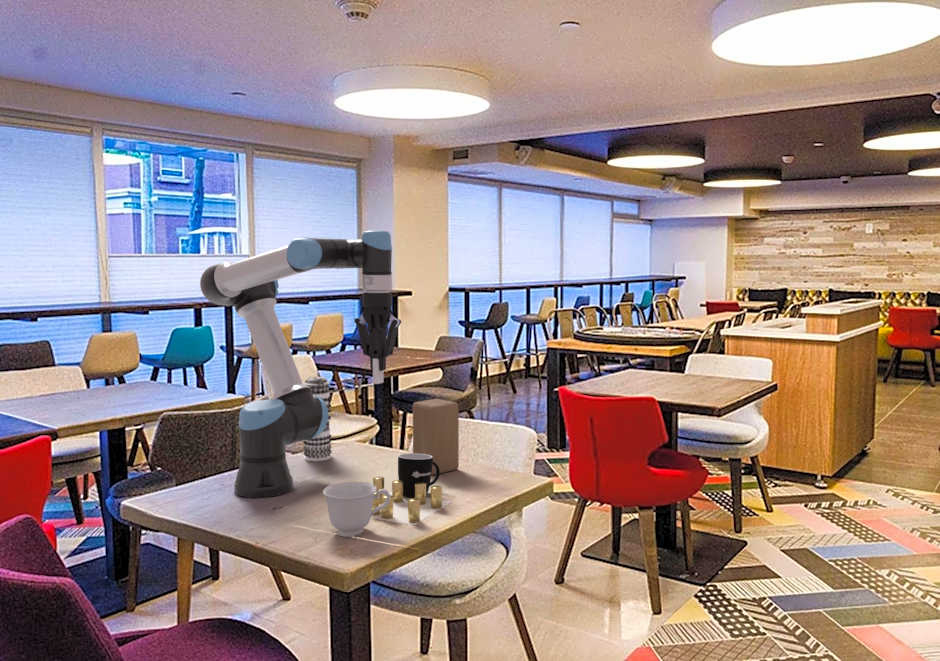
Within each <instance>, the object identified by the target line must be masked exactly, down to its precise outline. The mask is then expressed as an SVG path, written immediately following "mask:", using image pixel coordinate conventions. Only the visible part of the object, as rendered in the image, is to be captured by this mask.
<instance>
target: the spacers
mask: <svg viewBox="0 0 940 661" xmlns="http://www.w3.org/2000/svg"><path fill="white" fill-rule="evenodd" d="M391 484H392V485H391V492H392V495H390V502H389V504H388V505H387V506H386V507H385V508H383V509H381V510H378V511H376V512H375V513H374V514H373V515H380V514H381V518H383V519H391V518H393V502H395V503H400V502H403V501H404V496H403V481H402V480H399V479H396V480H395V479H394V480H393V481H392V482H391ZM372 485H374V486H375V487H376V488H377V491H376V492H375V493H374V494H376V496H377V492H378V490H380V489H385V477H383V476H375V477H373V478H372ZM426 498H427V495H426V483H425V482H417V483H415V498H411V499H408V522H410V523H417V522H419V523H421V522H420V505H424V504H426ZM430 498H431V508H433V509H440V508H441V509H442V500H443V487H442V486H441V485H431V486H430ZM385 501H386V495H384V494H380V495H379V498H378V499H375V498H373V505H372V511H373V510H374V509H375V508H376V507H378V506H380V505H382V504H383V503H384V502H385ZM441 509H440V510H441ZM417 524H418V523H417Z"/></svg>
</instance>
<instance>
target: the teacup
mask: <svg viewBox="0 0 940 661" xmlns="http://www.w3.org/2000/svg"><path fill="white" fill-rule="evenodd" d="M376 491H377V488H376V487H375V486H374V485H373V483H369V482H366V481H365V482H364V481H342V482H338V483H334V484H333V483H332V484H330V485H328V486H326V487H325V488H324V489H323V490H322V494H323V495H324V496H325V499H326V504H327V511H328V517H329V518H328V519H329V521H330V523H331V525H332V527H333V528H335V529H337V535H339V536H341V537H345V538H353V537H355V536H357V535H360V534H362V533H364V528H365V527H366V526H368V525H369V523H370V521H371V519H372V518H371V517H372V515H373V514H374V513H375V512H376V511H378V510H381V509H383V508H385V507H386V506H387V505H388V504H389V502H390V494H389V492H390V491H389V490H388V489H386V488H384V489H380V490H378V492H377V496H376V494H374V493H375V492H376ZM380 494H385V495H386V501H385V502H384V503H383V504H382V505H380V506H378V507H376V508H375V509H374V510H373V511H372V505H373V498H375V499H378V498H379V495H380Z"/></svg>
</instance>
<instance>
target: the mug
mask: <svg viewBox="0 0 940 661" xmlns="http://www.w3.org/2000/svg"><path fill="white" fill-rule="evenodd" d="M397 456H398V457H397V474H398V477H397V478H398V479H397V480H402V481H403V496H405V497H410V498H415V483H417V482H425V483H426V496H427V494H428V492H429V490H430V487H431V486H434V484H436V483H437V481H438V479H439V478H440V475H441V473H440V471H439V467H438V465H437V464H436V463H435V462H433V457H432V456H431V455H427V454H417V453H413V452H411V453H410V452H409V453H401V454H399V455H397ZM432 464H433V465H434V466H435V468H436V475H434V476H435V477H434V478H433V479H432V474H431V473H432ZM431 480H432V481H431Z"/></svg>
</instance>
